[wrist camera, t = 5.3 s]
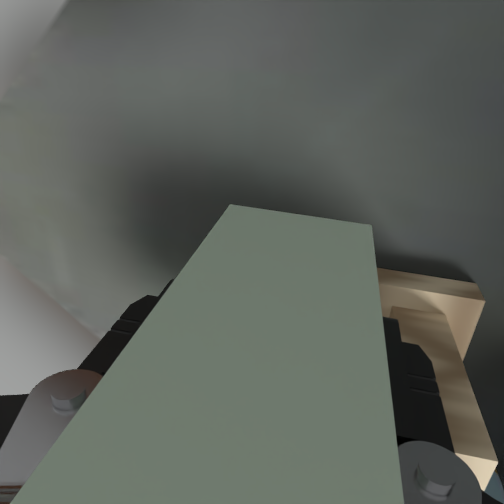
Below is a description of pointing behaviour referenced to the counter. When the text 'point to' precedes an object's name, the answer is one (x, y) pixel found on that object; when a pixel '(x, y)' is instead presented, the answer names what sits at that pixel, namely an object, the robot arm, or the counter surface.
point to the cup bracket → (444, 352)
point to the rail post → (244, 381)
